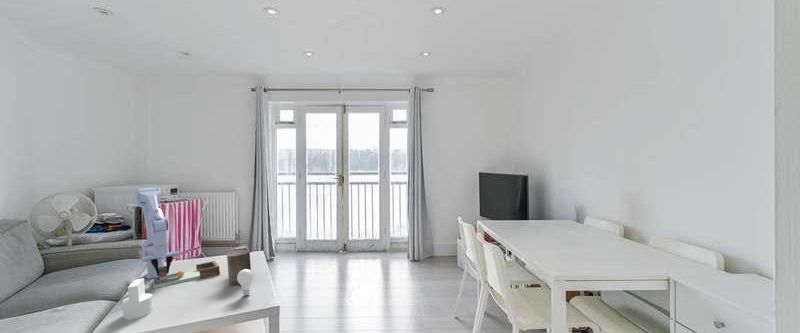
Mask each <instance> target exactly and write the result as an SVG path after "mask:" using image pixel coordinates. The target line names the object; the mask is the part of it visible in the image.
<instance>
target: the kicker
mask: <svg viewBox="0 0 800 333" xmlns="http://www.w3.org/2000/svg"><path fill="white" fill-rule="evenodd" d="M158 269H159V281H161V280H165V279H168V278H167V275H168V274H167V267H166V265H164V266H163V267H158Z"/></svg>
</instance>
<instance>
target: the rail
mask: <svg viewBox="0 0 800 333" xmlns="http://www.w3.org/2000/svg"><path fill="white" fill-rule="evenodd" d="M177 273H178V272H174V273H170V274H167V278H170V277H174V278H170V279H165V280H161V281H157V280H159V277H155V278H153V280H154V283H155V285H157V284H162V283H166V282H171V281H175V280H179V277H175V276H177Z"/></svg>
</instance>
